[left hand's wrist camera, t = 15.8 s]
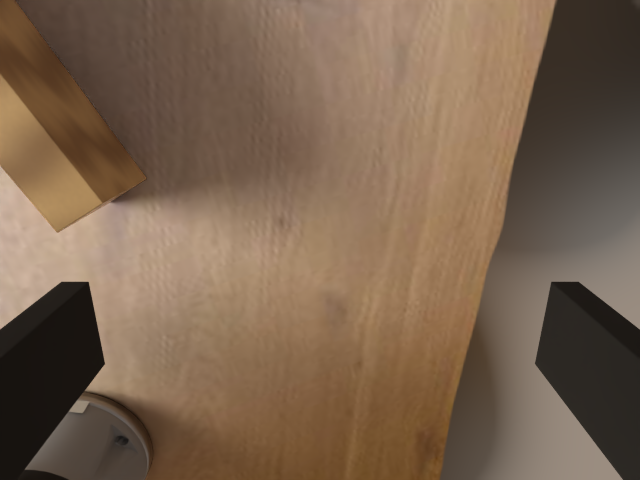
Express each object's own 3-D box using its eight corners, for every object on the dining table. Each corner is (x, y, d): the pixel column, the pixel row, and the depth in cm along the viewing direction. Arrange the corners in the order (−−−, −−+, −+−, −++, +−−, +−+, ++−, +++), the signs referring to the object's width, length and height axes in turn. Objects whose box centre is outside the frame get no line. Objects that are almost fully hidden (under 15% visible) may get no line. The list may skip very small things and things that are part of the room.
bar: (147, 178, 40) (103, 203, 32) (109, 202, 40) (56, 233, 32) (-36, -69, 33) (-150, -116, 25) (-77, -34, 34) (-200, -70, 26)
